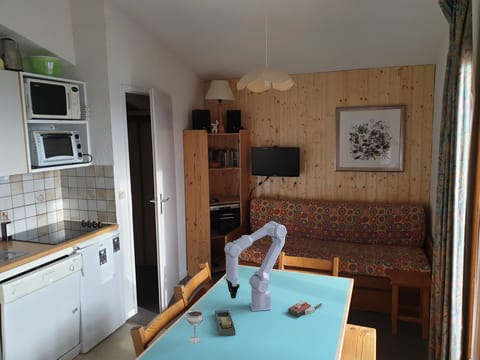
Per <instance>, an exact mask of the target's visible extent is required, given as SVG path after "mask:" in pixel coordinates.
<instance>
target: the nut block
mask: <svg viewBox="0 0 480 360" xmlns="http://www.w3.org/2000/svg"><path fill="white" fill-rule="evenodd" d="M220 318H221V327H220V328H221V329H229V328H231V319H230V317H228V316H221V317H220Z"/></svg>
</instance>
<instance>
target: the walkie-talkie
mask: <svg viewBox="0 0 480 360" xmlns="http://www.w3.org/2000/svg"><path fill="white" fill-rule="evenodd" d="M322 305H323V303H322V302H321V303H318V304H317V305H315V306H312V305H311V304H310V303H307V301H305V300H301V301H299V302H297V303H296V304H294V305H292V306H290V307H288V308H287V314H289V315H291V316H293V317H295V318H300V317H302V316H304V315H312V314H313V313H315V312H316V311H315V310H316V309H318V308H319V307H321V306H322Z"/></svg>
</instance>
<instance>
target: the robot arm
mask: <svg viewBox="0 0 480 360" xmlns="http://www.w3.org/2000/svg"><path fill="white" fill-rule="evenodd" d="M287 233H288V230H287V228H286V226H285V225H283V224H280V223H278V222H275V221H274V220H272V221H269V222H267V223H265V224H264V225H263V226H262V227H260V228H259V229H258V230H256V231H254V232H253V233H251V234H250V235H247V234H245V235H244V234H243V235H241V237H239V238H238V239H236V240H232V241H233V242H228V243H226V245H225V246H224V250H223V251H224V253H225V254H226V255H225V257H226V258H225V259H226V260H225V261H226V263H225V267H226V271H225V273H226V274H225V276H223V280H225V282H226V283H227V289H228V292H229V294H230V298H231V299H232V300H233V299H236V298H237V296H238V295H237V294H238V291H239V288H240V283H238V280H239V279H240V278H239V256H240V254H241V252H243V251H245V250H246V249H248V248H249V247H251V246H252V245H253V242H255V241H257V240H259V239H261V238H264V237H266V236H270V237H271V240H272V243H271V245H270V247H269V249H268V252H267V253H266V255H265V258H264V259H263V261H262V263H261V265H260V268H259V269H258V270H256V271H255V272H254V273H253V274H252V275H251V276H250V277H249V279H248V284H249V285H250V286H251V287H250V288H251V292H250V293H251V298H250V300H251V302H250V303H249V306H250V309H251V311H252V312H260V311H271V310H272V308H271V306H272V305H271V301H272V299H271V297H272V296H271V291H270V289H269V284H270V281H271V279H270V273H271V271H272V269H273V267H274V266H275V264H276V262H277V259H278V257H280V256H279V255H280V253H281V251H282V249H283V247H284V245H285V242H286V235H287Z"/></svg>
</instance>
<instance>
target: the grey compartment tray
mask: <svg viewBox="0 0 480 360" xmlns="http://www.w3.org/2000/svg"><path fill="white" fill-rule="evenodd" d="M214 317H215V321H216V322H215V323H216V327H217V332H218V336H219V337H228V336H229V337H230V336H236V329H235V327H236V326H235V324H234V320H233V318H232V314H231V312H230V309H218V310H217V309H216V310H214ZM222 317H230V319H231V328H229V329H221V318H222Z"/></svg>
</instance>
